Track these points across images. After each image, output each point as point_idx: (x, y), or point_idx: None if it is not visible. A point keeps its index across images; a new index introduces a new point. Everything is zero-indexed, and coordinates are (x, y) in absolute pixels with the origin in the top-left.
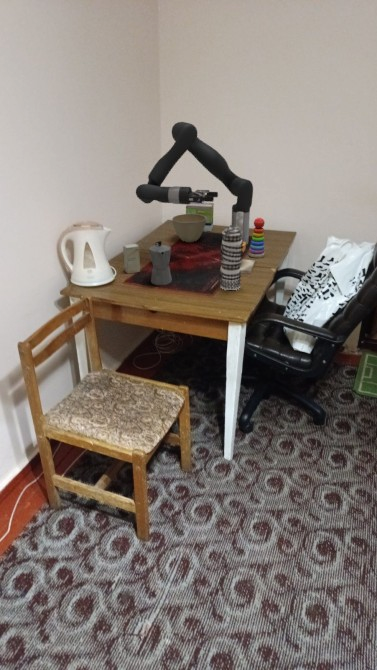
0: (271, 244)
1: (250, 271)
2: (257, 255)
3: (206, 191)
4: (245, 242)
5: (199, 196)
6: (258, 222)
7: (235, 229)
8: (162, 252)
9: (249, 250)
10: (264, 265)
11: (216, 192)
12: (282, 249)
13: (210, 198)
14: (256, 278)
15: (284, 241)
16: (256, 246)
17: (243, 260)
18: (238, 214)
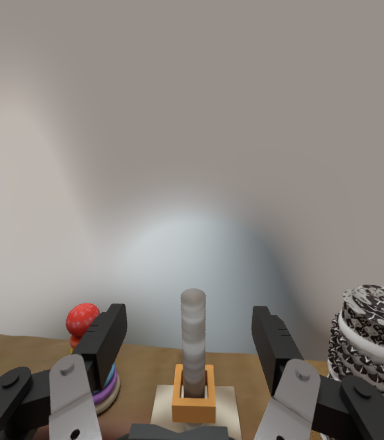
0: (18, 366)
1: (233, 388)
2: (118, 383)
3: (65, 386)
4: (180, 364)
5: (360, 415)
6: (96, 315)
7: (380, 289)
8: None
9: (95, 403)
10: (169, 367)
11: (122, 306)
12: (68, 341)
13: (283, 325)
14: (253, 375)
15: (12, 341)
16: (111, 369)
17: (159, 419)
18: (205, 301)
